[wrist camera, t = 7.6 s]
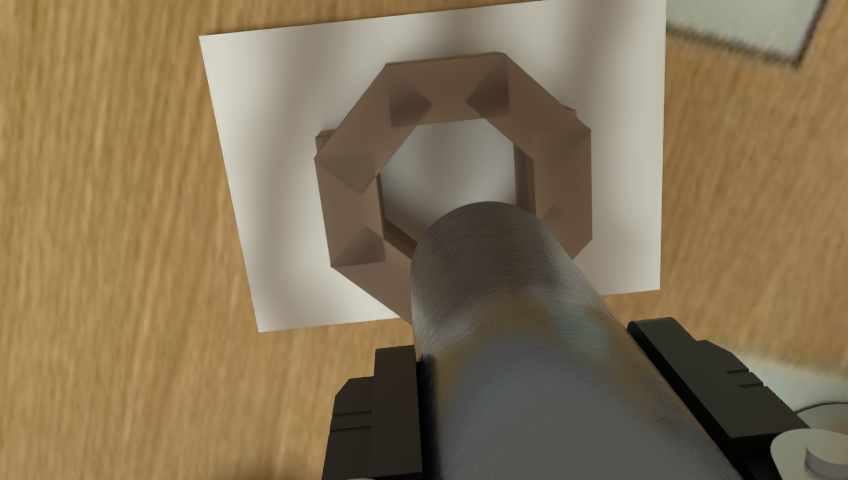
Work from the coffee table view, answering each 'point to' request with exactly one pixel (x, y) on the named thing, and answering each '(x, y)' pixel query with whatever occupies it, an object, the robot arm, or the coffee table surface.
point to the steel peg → (536, 365)
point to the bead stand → (438, 145)
